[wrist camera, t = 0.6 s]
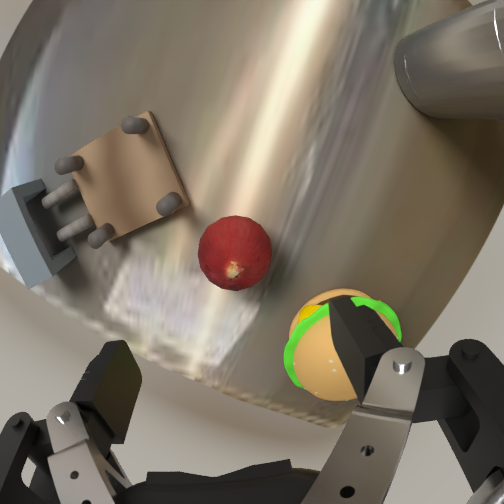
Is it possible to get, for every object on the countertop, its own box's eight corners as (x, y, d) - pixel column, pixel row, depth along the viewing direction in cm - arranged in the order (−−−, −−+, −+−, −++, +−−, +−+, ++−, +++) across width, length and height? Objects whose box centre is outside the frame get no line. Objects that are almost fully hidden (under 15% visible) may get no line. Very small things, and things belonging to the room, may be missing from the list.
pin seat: (151, 111, 24) (136, 107, 20) (190, 203, 27) (181, 214, 23) (44, 176, 25) (20, 183, 21) (79, 254, 28) (61, 270, 24)
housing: (40, 178, 25) (11, 188, 20) (76, 256, 28) (52, 276, 23) (18, 195, 25) (-11, 207, 21) (52, 268, 28) (28, 289, 24)
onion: (260, 272, 29) (266, 319, 22) (199, 262, 29) (186, 306, 21) (273, 213, 27) (285, 242, 20) (209, 201, 27) (195, 227, 19)
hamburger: (393, 273, 30) (434, 316, 22) (373, 361, 34) (398, 411, 26) (280, 277, 30) (294, 329, 21) (277, 370, 34) (285, 428, 26)
